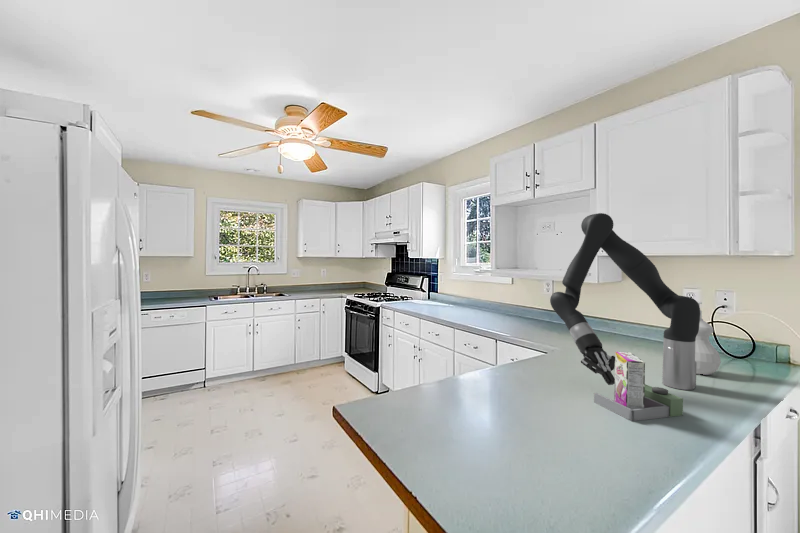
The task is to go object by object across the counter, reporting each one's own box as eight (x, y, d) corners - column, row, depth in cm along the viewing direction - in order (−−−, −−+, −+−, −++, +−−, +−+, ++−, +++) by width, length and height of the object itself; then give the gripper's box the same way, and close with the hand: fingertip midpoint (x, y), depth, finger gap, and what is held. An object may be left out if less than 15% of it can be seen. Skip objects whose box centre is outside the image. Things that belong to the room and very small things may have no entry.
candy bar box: (613, 401, 114) (614, 351, 114) (630, 403, 113) (631, 352, 113) (625, 415, 104) (626, 360, 103) (644, 417, 102) (646, 361, 102)
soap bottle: (726, 376, 142) (728, 303, 142) (711, 379, 137) (714, 304, 137) (678, 364, 157) (680, 299, 157) (663, 367, 152) (665, 300, 152)
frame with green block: (640, 397, 118) (641, 379, 118) (682, 415, 104) (683, 395, 104) (594, 402, 113) (594, 383, 113) (631, 421, 100) (632, 400, 100)
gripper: (575, 333, 122) (602, 379, 110) (606, 331, 125) (636, 377, 114) (564, 344, 127) (588, 390, 116) (594, 343, 131) (621, 387, 119)
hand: (612, 383), depth 115 cm, fingers closed
